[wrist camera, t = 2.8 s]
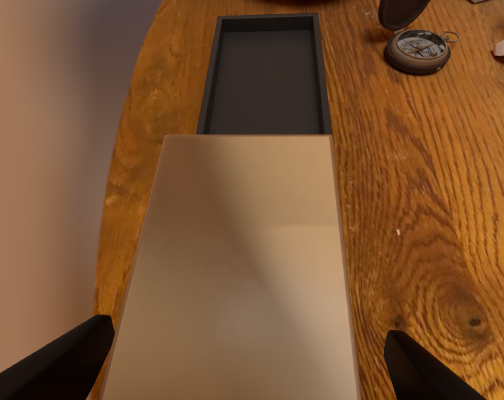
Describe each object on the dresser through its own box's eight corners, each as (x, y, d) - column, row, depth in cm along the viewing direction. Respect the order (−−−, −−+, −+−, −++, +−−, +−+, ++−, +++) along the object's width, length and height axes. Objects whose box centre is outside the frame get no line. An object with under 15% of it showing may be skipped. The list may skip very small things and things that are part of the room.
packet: (298, 364, 15) (369, 456, 4) (213, 358, 16) (88, 431, 5) (294, 246, 18) (332, 133, 8) (224, 244, 19) (164, 133, 8)
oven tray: (352, 408, 15) (364, 420, 13) (161, 394, 15) (146, 403, 14) (314, 31, 30) (318, 12, 28) (220, 34, 31) (217, 15, 29)
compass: (410, 84, 25) (458, 1, 19) (363, 41, 29) (390, -43, 22) (474, 59, 26) (541, -29, 20) (422, 20, 30) (464, -66, 23)
